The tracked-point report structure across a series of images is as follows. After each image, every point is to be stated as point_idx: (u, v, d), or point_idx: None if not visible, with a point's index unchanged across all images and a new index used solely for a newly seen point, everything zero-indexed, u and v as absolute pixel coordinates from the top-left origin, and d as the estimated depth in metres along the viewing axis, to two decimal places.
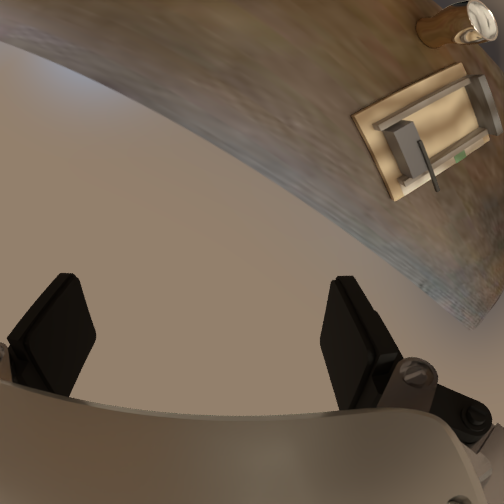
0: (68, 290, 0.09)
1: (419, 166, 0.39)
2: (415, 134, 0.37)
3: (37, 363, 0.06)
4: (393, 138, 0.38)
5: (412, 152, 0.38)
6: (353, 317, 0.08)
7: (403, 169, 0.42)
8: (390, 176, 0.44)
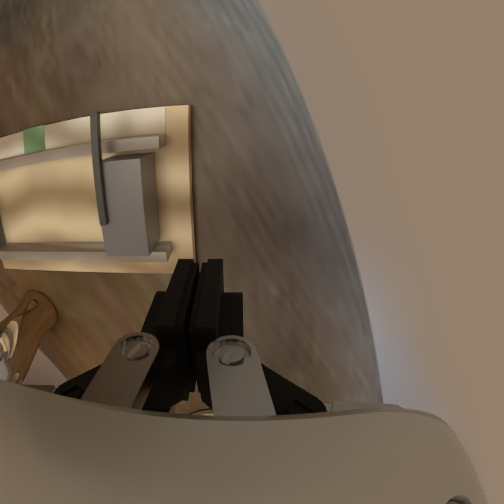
0: (195, 275, 0.10)
1: (119, 176, 0.21)
2: (108, 234, 0.23)
3: (185, 349, 0.08)
4: (151, 238, 0.24)
5: (124, 207, 0.22)
6: (196, 294, 0.09)
7: (149, 168, 0.23)
8: (177, 155, 0.25)
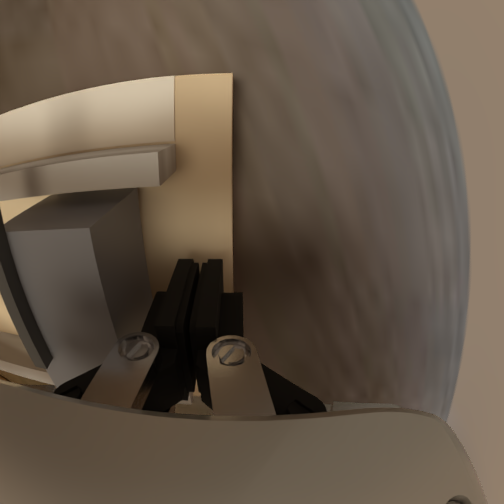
0: (195, 275, 0.10)
1: (46, 270, 0.07)
2: (58, 376, 0.09)
3: (185, 350, 0.08)
4: None
5: (76, 338, 0.08)
6: (196, 294, 0.09)
7: (126, 234, 0.09)
8: (203, 193, 0.11)
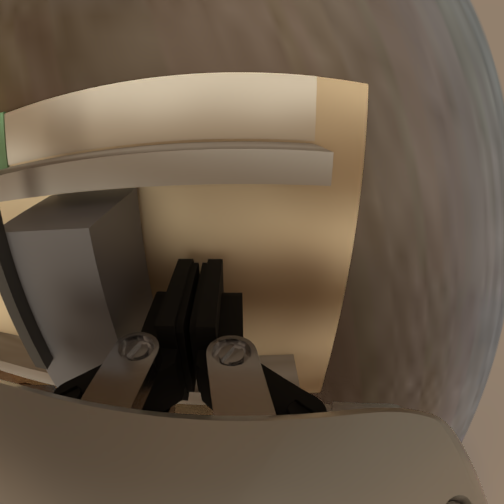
0: (195, 275, 0.10)
1: (46, 270, 0.07)
2: (59, 376, 0.09)
3: (185, 349, 0.08)
4: None
5: (76, 338, 0.08)
6: (196, 294, 0.09)
7: (126, 234, 0.09)
8: (335, 194, 0.11)
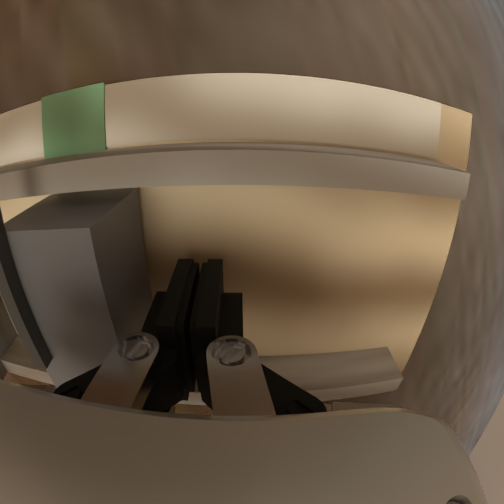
0: (195, 275, 0.10)
1: (47, 269, 0.07)
2: (58, 375, 0.09)
3: (185, 349, 0.08)
4: None
5: (76, 337, 0.08)
6: (196, 294, 0.09)
7: (126, 234, 0.09)
8: (444, 204, 0.11)
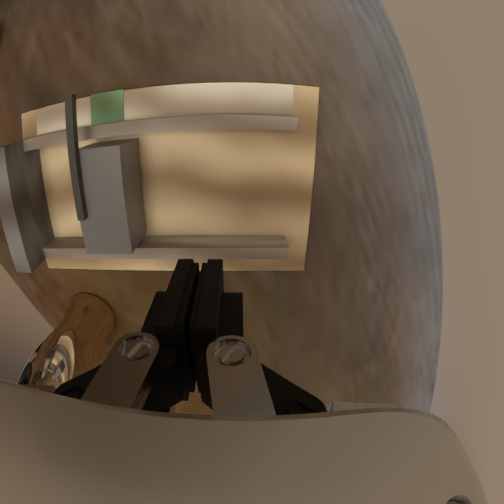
0: (195, 275, 0.10)
1: (97, 165, 0.18)
2: (88, 230, 0.20)
3: (185, 349, 0.08)
4: (134, 234, 0.22)
5: (104, 200, 0.19)
6: (196, 294, 0.09)
7: (132, 155, 0.20)
8: (303, 140, 0.22)
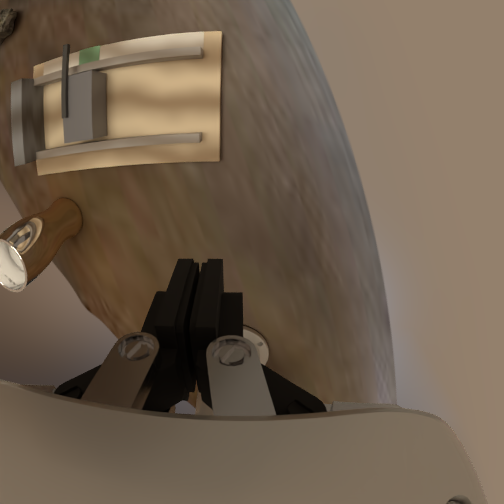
0: (195, 275, 0.10)
1: (77, 83, 0.25)
2: (67, 126, 0.27)
3: (185, 349, 0.08)
4: (96, 128, 0.28)
5: (79, 104, 0.26)
6: (196, 294, 0.09)
7: (100, 81, 0.27)
8: (211, 65, 0.29)
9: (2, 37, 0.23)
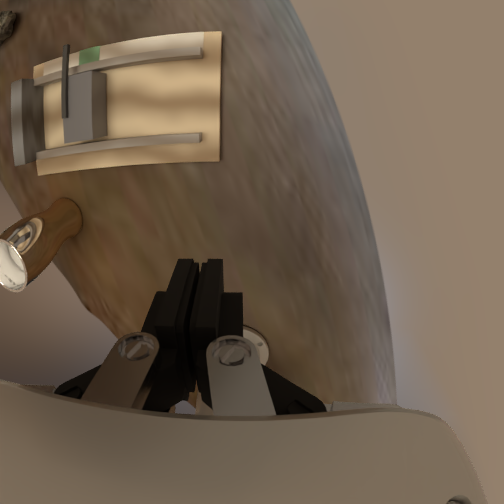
0: (195, 275, 0.10)
1: (77, 83, 0.25)
2: (67, 126, 0.27)
3: (185, 349, 0.08)
4: (96, 129, 0.28)
5: (79, 104, 0.26)
6: (196, 294, 0.09)
7: (100, 81, 0.27)
8: (211, 65, 0.29)
9: (1, 39, 0.23)
